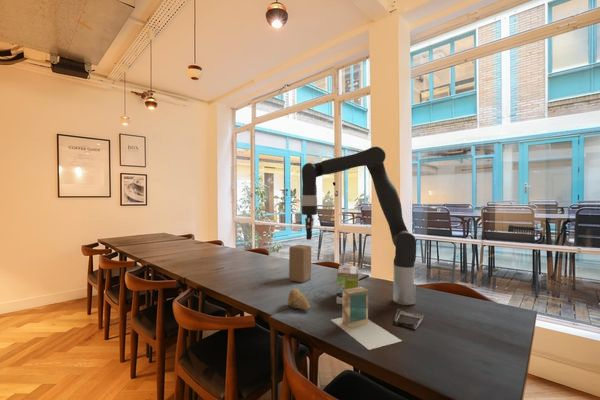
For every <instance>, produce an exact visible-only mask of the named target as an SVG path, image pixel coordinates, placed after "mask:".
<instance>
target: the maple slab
mask: <svg viewBox="0 0 600 400" xmlns="http://www.w3.org/2000/svg"><path fill="white" fill-rule="evenodd" d="M341 306H342V307H341V308H342V312H341V313H342V315H341V318H342V323H343V324H344V325H345V326H346V327H348V328H349V327H354V326H358V325H363V324H367V323H368V319H369V289H367V288H365V287H363V286H358V288H351V289H344V290H343V293H342V304H341Z"/></svg>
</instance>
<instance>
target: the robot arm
mask: <svg viewBox="0 0 600 400" xmlns="http://www.w3.org/2000/svg"><path fill="white" fill-rule="evenodd" d="M385 160H386V151H385V150H384V149H383V148H382V147H381V146H372V147H369V148H367V149H364V150H363V151H359V152H357V153H353V154H349V155H344V156H338V157H334V158H328V159H325V160H322V161H320V162H315V163H311V162H308V163H305V164H304V165H303V166H302V167H301V179H302V180H301V181H302V186H301V187H302V188H301V190H302V191H301V215H303V216H306V218H304V223H305V232H306V236H305V237H306V240H307V241H308V240H312V236H313V226H314V217H313V215H314V216H316V215H317V214H318V197H317V195H318V193H317V178H319V177H323V176H327V175H331V174H336V173H340V172H343V171H344V172H345V171H348V170H350V169H353V168H358V167H364V166H365V167H366V168H367V170H368V171H369V174H370V176H371V179H372V183H373V185H374V186H373V187H374V190H375V194H376V197H377V200H378V202H379V205H380V208H381V211H382V213H383V215H384V217H385V219H386V222H387V224H388V227H389V228H388V229H389V232H390V236H391V240H392V244H393V245H394V247H395V253H394V258H393V278H392V279H393V281H392V282H393V285H392V287H393V288H392V289H393V290H392V291H393V292H392V293H393V294H392V300H393V301H392V302H394V303H395V304H398V305H403V306H410V305H411V306H412V305H416V289H417V288H416V286H417V285H416V283H415V263H416V259H417V239H416V237H415V236H414V234H413V233H411V232H409V230H408V228H407V226H406V223H405V221H404V218H403V211H402V210H403V209H402V203H401V199H400V197H399V194H398V191H397V188H396V187H395V185H394V183H393V181H392V180H391V179H390V177H389V176H388V174H387V171H386V167H385V163H384V162H385Z"/></svg>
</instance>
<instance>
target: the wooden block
mask: <svg viewBox="0 0 600 400" xmlns="http://www.w3.org/2000/svg"><path fill="white" fill-rule="evenodd" d="M288 253H289V255H288V257H289V260H288V261H289V263H288V267H289V268H288V279H289V281H290V282H297V283H301V284H303V283H305V282H308V281H309V280H311V279H312V246H310V245H305V244H296V245H291V246H290V247H289V251H288Z"/></svg>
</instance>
